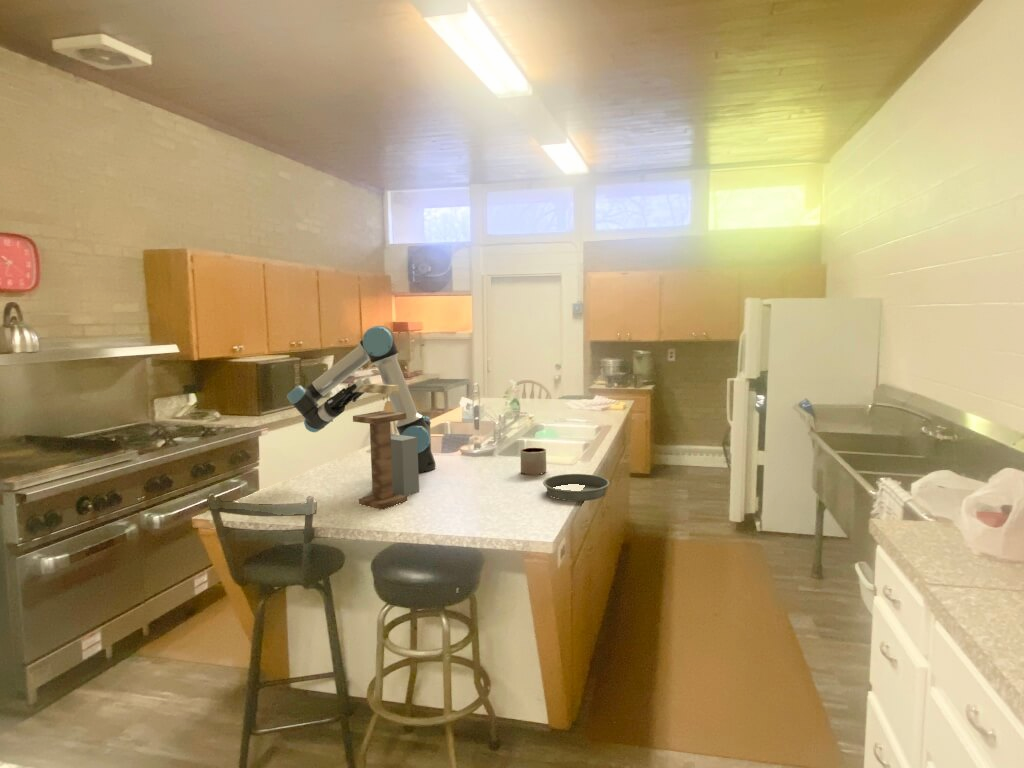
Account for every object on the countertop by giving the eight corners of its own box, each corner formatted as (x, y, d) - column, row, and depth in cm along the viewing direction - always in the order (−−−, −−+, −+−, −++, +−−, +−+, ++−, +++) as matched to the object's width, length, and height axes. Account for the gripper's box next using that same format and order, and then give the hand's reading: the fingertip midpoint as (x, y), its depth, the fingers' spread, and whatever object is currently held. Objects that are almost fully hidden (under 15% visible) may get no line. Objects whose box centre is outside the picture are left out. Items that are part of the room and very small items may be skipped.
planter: (516, 474, 275) (516, 451, 274) (526, 468, 285) (525, 446, 284) (541, 476, 271) (541, 453, 270) (550, 470, 281) (549, 448, 280)
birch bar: (348, 391, 254) (347, 383, 254) (354, 390, 256) (353, 383, 256) (393, 394, 240) (392, 385, 240) (399, 393, 243) (398, 385, 242)
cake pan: (532, 489, 252) (532, 477, 251) (589, 482, 261) (589, 471, 260) (561, 506, 229) (561, 493, 229) (622, 497, 238) (622, 485, 238)
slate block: (372, 490, 254) (370, 436, 252) (387, 485, 261) (385, 433, 258) (404, 496, 244) (402, 440, 242) (419, 491, 251) (417, 437, 248)
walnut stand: (356, 505, 234) (352, 416, 231) (385, 495, 246) (382, 410, 242) (380, 510, 227) (376, 418, 224) (409, 500, 239) (405, 413, 235)
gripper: (351, 414, 269) (385, 387, 256) (319, 420, 256) (353, 392, 243) (343, 397, 270) (377, 370, 257) (311, 402, 257) (345, 374, 244)
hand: (365, 380), depth 250 cm, fingers closed on birch bar, 3 cm apart
